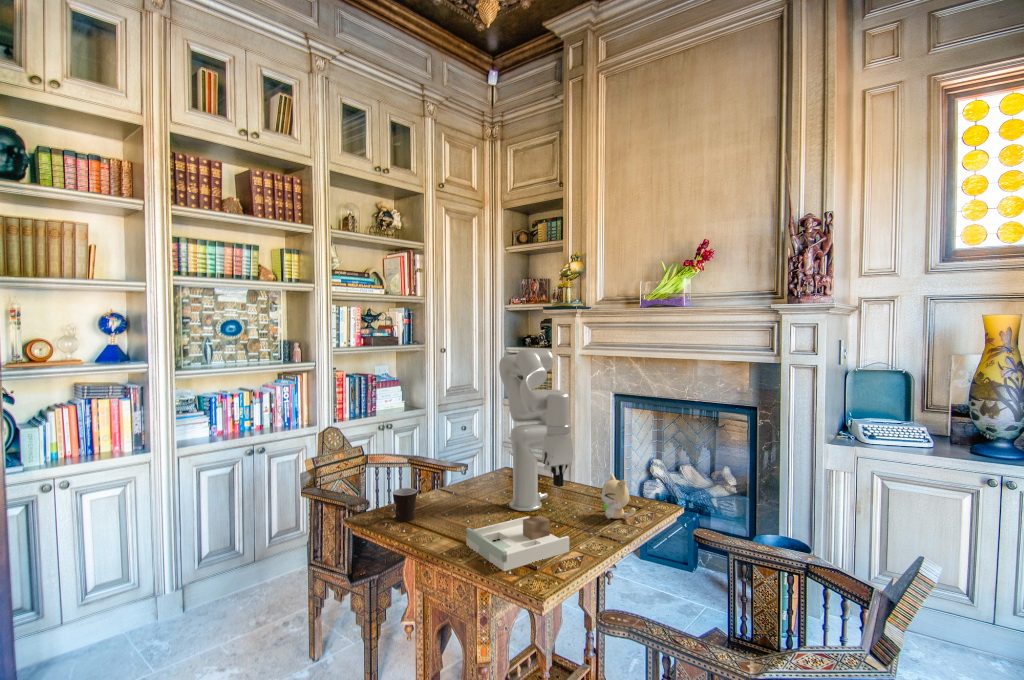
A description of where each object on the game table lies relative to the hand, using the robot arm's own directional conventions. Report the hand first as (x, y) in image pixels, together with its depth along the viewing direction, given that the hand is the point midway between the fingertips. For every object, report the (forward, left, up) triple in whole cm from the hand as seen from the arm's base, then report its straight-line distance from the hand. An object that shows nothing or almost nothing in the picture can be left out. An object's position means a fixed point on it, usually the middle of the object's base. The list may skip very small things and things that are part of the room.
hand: (558, 485), depth 173 cm
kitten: (-29, -3, -17) cm, 33 cm away
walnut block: (+9, 0, -14) cm, 17 cm away
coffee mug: (+36, -43, -17) cm, 59 cm away
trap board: (+16, 0, -17) cm, 24 cm away
